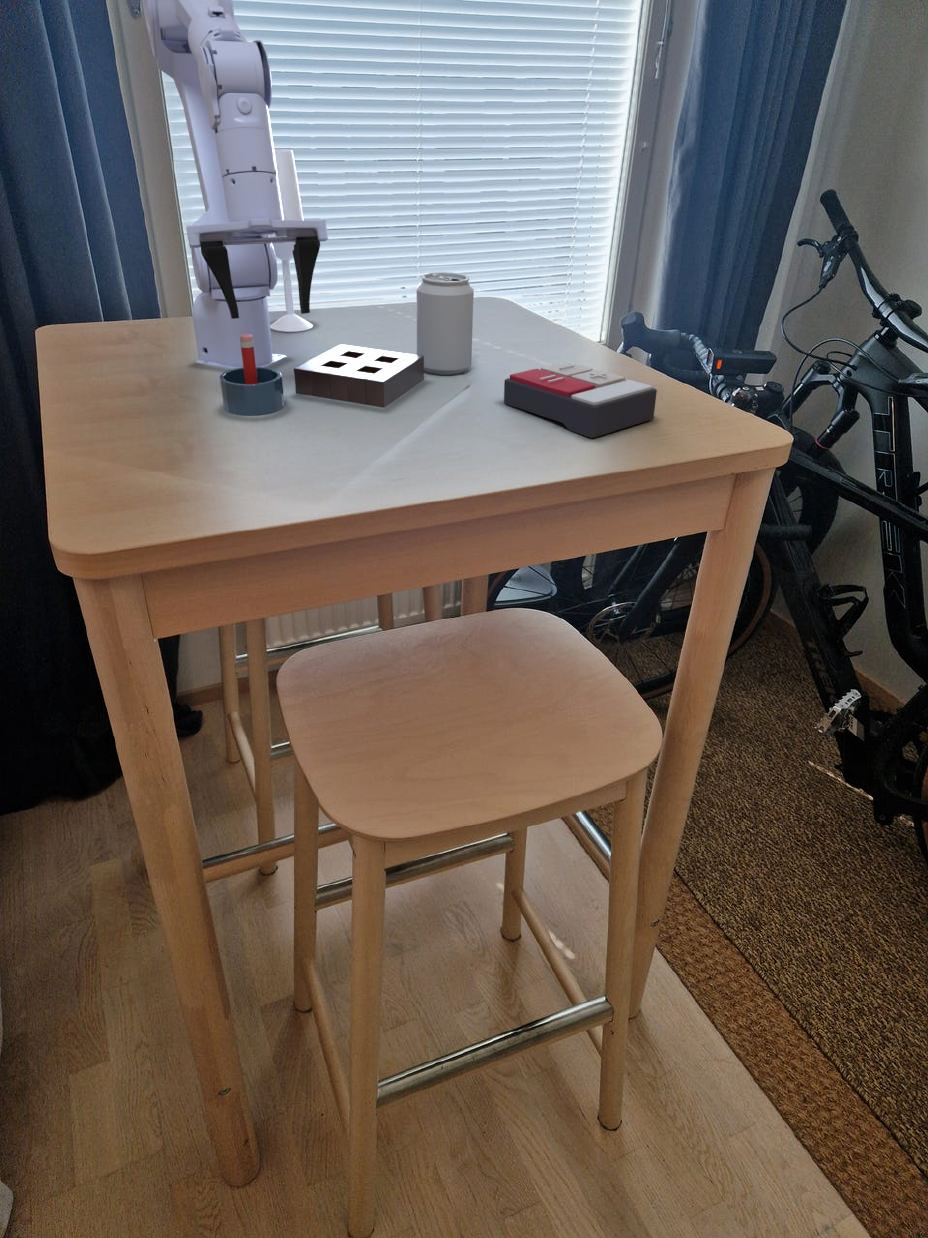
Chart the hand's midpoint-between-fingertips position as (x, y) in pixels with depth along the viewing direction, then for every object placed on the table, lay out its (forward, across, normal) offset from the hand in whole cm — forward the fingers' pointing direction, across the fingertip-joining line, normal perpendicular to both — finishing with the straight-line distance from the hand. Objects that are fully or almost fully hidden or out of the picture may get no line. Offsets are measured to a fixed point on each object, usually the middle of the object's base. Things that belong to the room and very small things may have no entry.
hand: (270, 315), depth 88 cm
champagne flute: (+1, +7, +40) cm, 40 cm away
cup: (+10, -3, +4) cm, 11 cm away
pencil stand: (+9, +11, +8) cm, 16 cm away
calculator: (+14, +34, -6) cm, 37 cm away
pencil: (+10, -3, +3) cm, 11 cm away
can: (+8, +24, +14) cm, 28 cm away
